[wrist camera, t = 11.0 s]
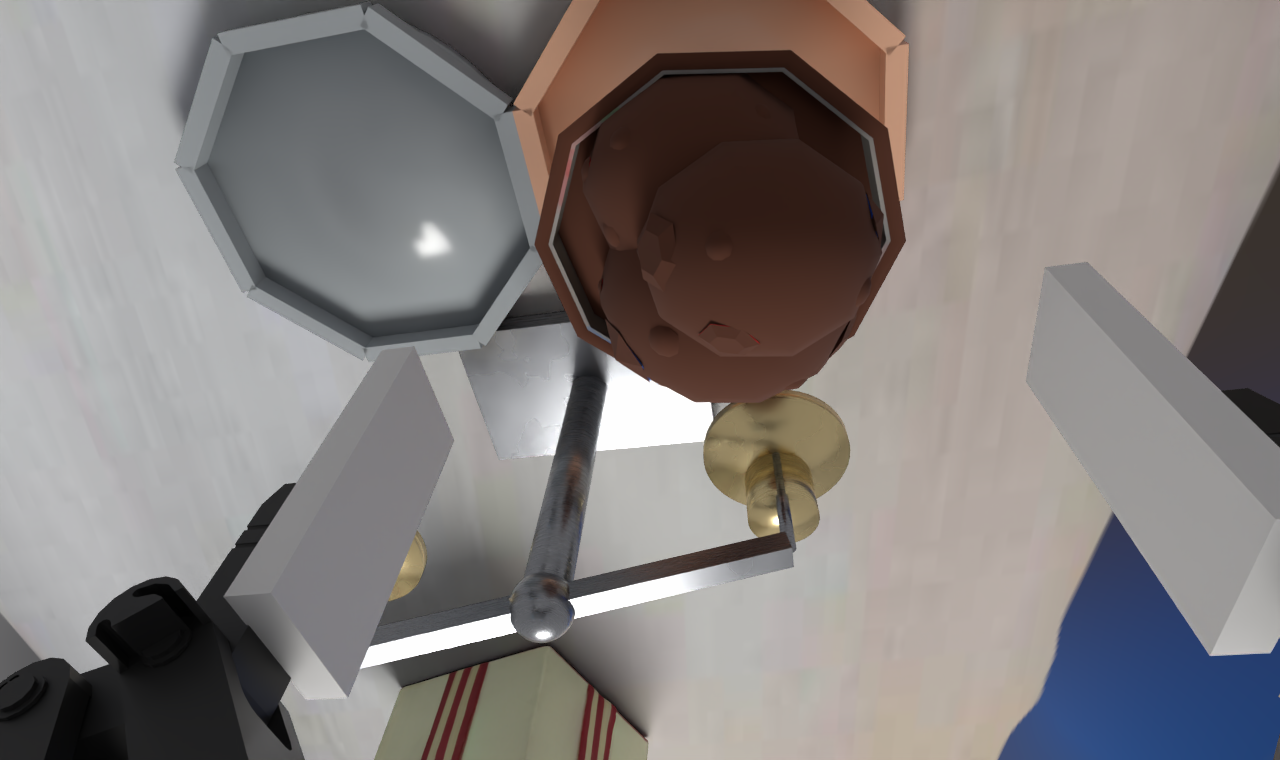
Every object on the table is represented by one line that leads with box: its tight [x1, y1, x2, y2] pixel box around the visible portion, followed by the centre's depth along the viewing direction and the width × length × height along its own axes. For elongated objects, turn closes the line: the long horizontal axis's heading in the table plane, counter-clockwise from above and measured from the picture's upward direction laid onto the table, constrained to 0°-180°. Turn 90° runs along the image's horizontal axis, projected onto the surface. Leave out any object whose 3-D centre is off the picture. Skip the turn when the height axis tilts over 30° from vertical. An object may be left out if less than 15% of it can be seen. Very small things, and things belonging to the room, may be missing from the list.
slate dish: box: [174, 1, 543, 362], centre depth 31 cm, size 15×15×2 cm
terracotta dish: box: [512, 0, 909, 216], centre depth 29 cm, size 15×15×2 cm
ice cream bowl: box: [534, 50, 906, 403], centre depth 23 cm, size 11×11×15 cm
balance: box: [360, 311, 850, 669], centre depth 30 cm, size 8×24×17 cm, turn 100°
